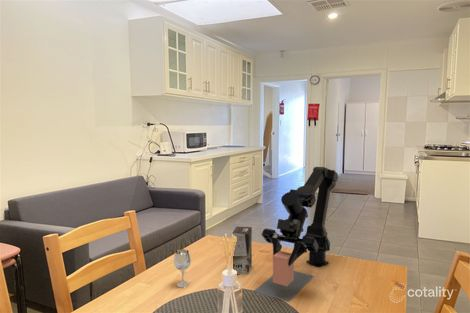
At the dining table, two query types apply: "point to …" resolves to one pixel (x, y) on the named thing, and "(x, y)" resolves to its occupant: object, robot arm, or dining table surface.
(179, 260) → the wineglass
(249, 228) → the coffee box
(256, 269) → the dining table surface
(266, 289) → the mat
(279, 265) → the red block
